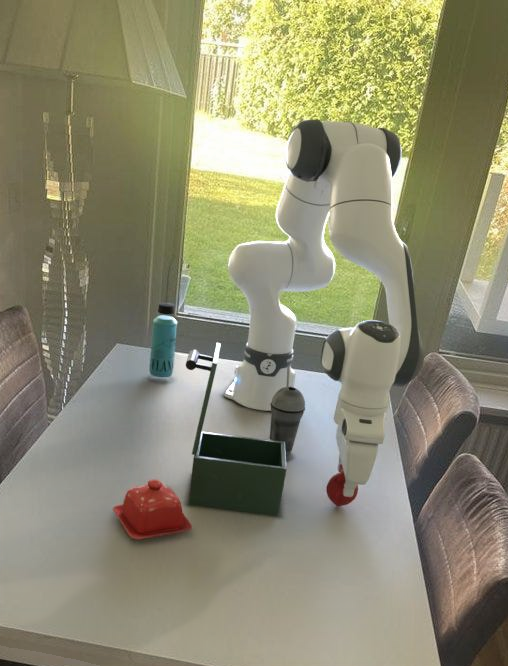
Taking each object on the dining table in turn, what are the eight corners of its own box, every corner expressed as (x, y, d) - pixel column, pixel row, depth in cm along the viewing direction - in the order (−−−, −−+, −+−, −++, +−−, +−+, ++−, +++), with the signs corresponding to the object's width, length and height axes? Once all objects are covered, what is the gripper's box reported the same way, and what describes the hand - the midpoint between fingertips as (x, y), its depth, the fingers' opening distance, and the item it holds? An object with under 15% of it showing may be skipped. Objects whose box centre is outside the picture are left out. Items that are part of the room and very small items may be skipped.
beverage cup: (295, 465, 147) (311, 375, 137) (260, 459, 147) (275, 370, 138) (296, 451, 153) (313, 364, 143) (264, 445, 154) (278, 359, 144)
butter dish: (109, 511, 124) (111, 469, 120) (169, 503, 128) (173, 462, 124) (131, 546, 115) (134, 502, 111) (195, 536, 119) (200, 493, 115)
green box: (277, 486, 138) (284, 441, 133) (278, 516, 128) (286, 469, 123) (194, 475, 139) (199, 430, 134) (188, 504, 128) (193, 457, 124)
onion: (356, 515, 130) (365, 477, 127) (326, 512, 130) (334, 475, 126) (350, 499, 136) (358, 463, 132) (320, 497, 135) (328, 460, 132)
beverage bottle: (146, 381, 182) (151, 305, 173) (151, 372, 188) (156, 299, 179) (170, 384, 182) (176, 308, 172) (174, 376, 188) (181, 302, 178)
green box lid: (221, 343, 125) (193, 336, 125) (217, 363, 115) (186, 356, 115) (201, 429, 134) (174, 423, 134) (196, 455, 123) (167, 449, 123)
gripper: (336, 392, 133) (323, 456, 140) (348, 435, 115) (332, 507, 122) (369, 396, 133) (355, 460, 139) (386, 439, 115) (368, 511, 121)
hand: (344, 482), depth 130 cm, fingers open, 8 cm apart
